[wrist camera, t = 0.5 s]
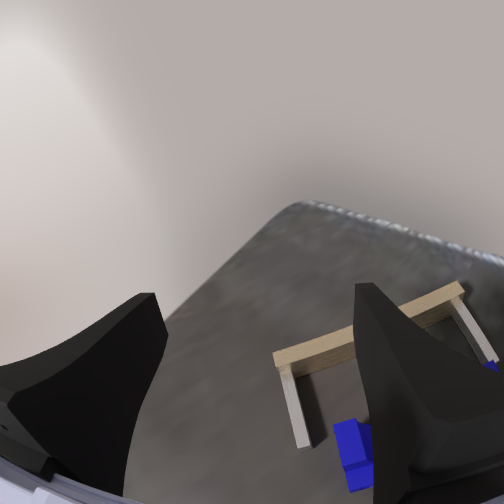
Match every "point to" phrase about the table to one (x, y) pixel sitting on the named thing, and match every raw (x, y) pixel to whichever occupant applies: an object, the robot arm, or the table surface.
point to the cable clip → (361, 449)
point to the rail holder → (343, 349)
